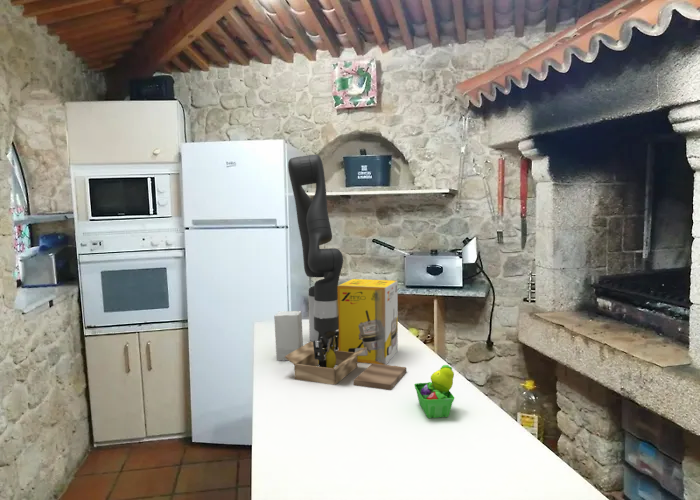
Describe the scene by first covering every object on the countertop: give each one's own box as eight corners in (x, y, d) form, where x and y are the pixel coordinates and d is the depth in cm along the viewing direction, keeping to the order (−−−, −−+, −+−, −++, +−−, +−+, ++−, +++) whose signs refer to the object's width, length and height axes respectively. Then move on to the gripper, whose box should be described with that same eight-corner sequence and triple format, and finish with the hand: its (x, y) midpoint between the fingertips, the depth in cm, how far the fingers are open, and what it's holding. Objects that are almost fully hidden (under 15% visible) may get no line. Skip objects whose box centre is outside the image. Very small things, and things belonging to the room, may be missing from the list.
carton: (310, 361, 163) (310, 341, 163) (367, 367, 156) (366, 346, 155) (284, 377, 147) (284, 355, 147) (346, 386, 140) (345, 363, 139)
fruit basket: (413, 402, 128) (413, 359, 127) (446, 400, 129) (447, 358, 128) (423, 421, 117) (423, 374, 116) (460, 419, 118) (460, 372, 117)
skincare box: (303, 355, 170) (302, 310, 168) (299, 361, 163) (299, 314, 162) (279, 355, 170) (278, 310, 169) (275, 361, 164) (273, 314, 162)
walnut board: (372, 368, 156) (372, 363, 155) (406, 372, 151) (406, 367, 151) (353, 385, 141) (353, 379, 141) (390, 390, 137) (390, 384, 137)
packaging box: (386, 365, 158) (385, 287, 156) (338, 360, 164) (337, 285, 162) (397, 351, 174) (397, 280, 172) (353, 347, 179) (353, 278, 177)
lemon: (338, 370, 153) (338, 345, 153) (332, 376, 148) (331, 350, 147) (322, 369, 155) (321, 344, 154) (315, 374, 150) (314, 348, 149)
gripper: (325, 308, 158) (325, 360, 159) (304, 318, 145) (305, 374, 146) (346, 310, 155) (347, 363, 157) (327, 320, 142) (328, 377, 143)
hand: (327, 368), depth 151 cm, fingers closed on lemon, 5 cm apart
